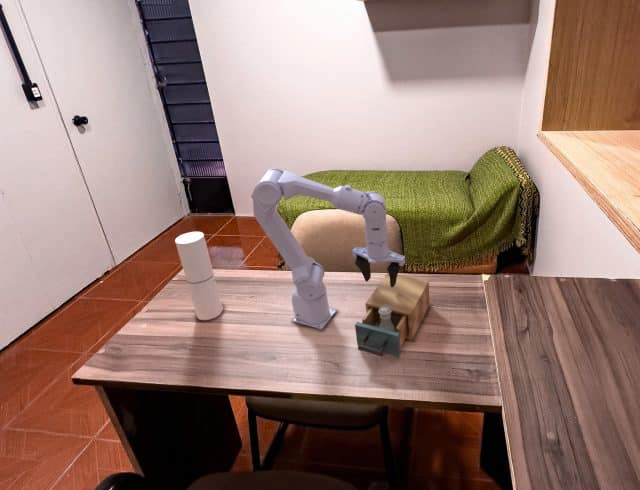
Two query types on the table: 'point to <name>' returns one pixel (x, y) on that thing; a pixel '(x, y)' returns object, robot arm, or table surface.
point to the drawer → (381, 334)
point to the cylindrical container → (199, 275)
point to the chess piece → (386, 318)
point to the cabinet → (403, 299)
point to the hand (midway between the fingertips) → (380, 282)
